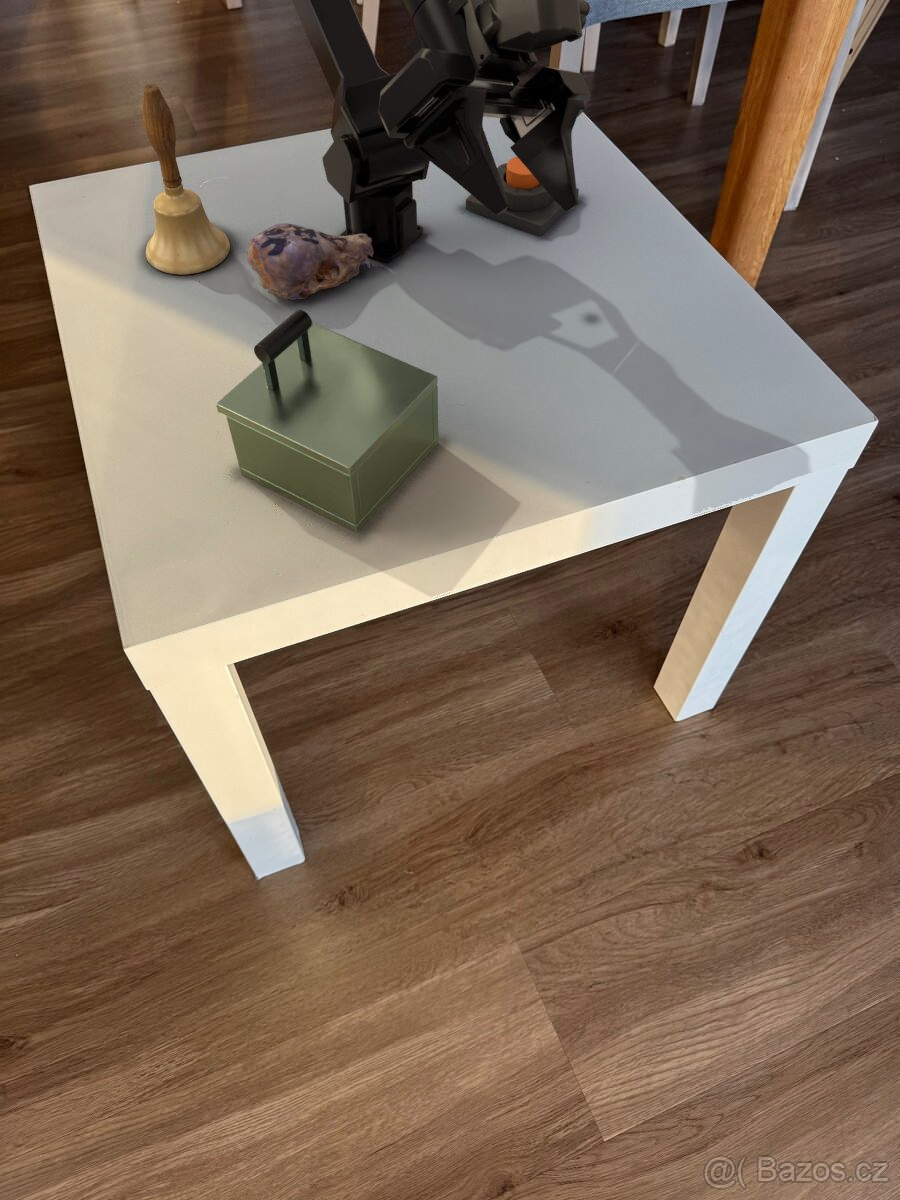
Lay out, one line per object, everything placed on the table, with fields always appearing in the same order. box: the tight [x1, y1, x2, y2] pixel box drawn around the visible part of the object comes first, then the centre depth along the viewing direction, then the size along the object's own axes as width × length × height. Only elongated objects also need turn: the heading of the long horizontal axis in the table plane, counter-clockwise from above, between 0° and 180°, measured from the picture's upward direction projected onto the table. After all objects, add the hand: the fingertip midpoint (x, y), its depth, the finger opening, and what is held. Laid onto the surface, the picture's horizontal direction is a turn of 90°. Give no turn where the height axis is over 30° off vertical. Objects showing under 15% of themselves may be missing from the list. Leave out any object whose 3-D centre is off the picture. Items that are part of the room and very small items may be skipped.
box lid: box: [215, 309, 439, 475], centre depth 71 cm, size 12×12×5 cm
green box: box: [226, 384, 439, 533], centre depth 75 cm, size 12×12×6 cm
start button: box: [506, 156, 540, 189], centre depth 97 cm, size 4×4×2 cm
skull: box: [247, 222, 374, 301], centre depth 90 cm, size 12×8×6 cm, turn 105°
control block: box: [465, 162, 580, 237], centre depth 98 cm, size 9×8×3 cm
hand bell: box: [142, 83, 231, 276], centre depth 88 cm, size 8×8×16 cm
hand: (538, 209), depth 69 cm, fingers open, 9 cm apart
